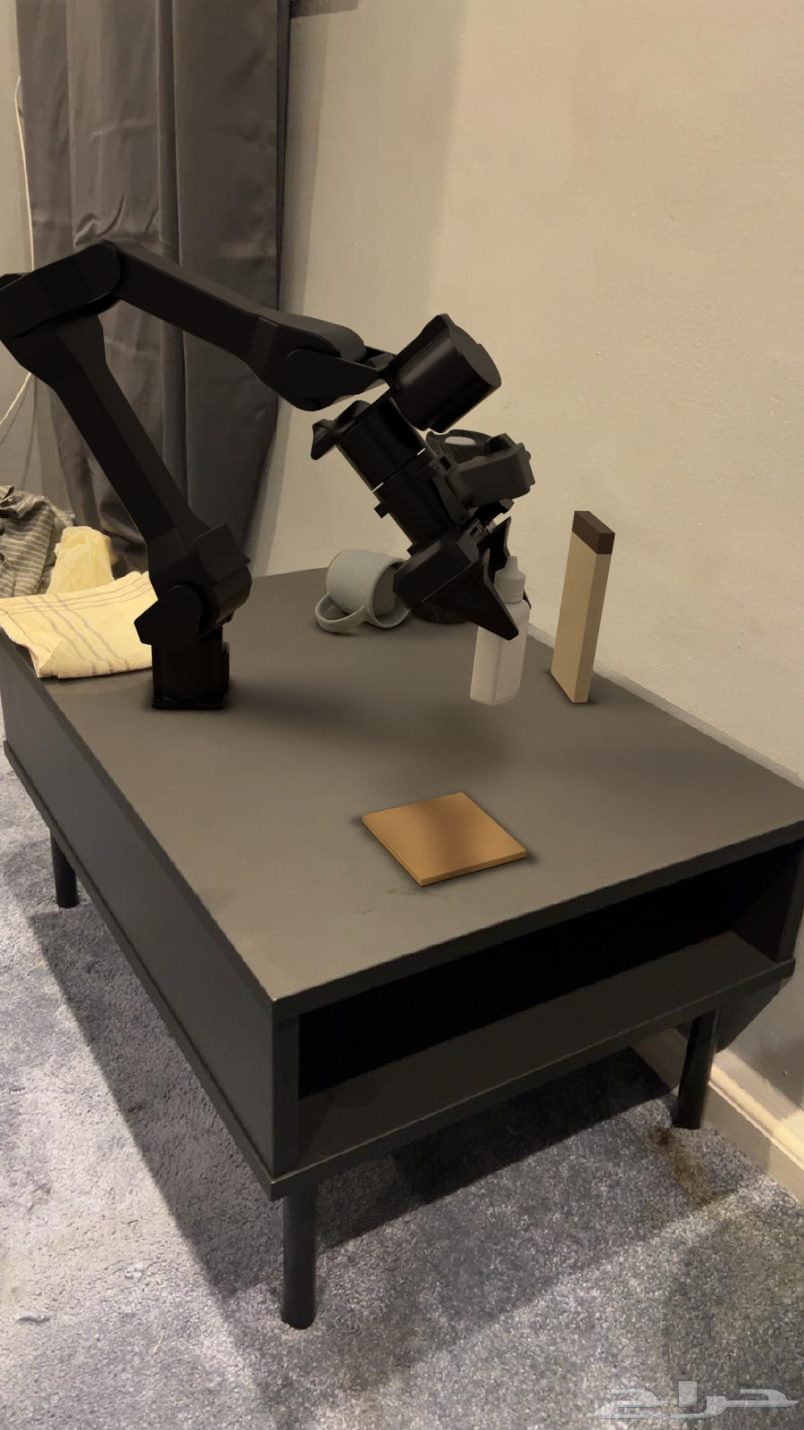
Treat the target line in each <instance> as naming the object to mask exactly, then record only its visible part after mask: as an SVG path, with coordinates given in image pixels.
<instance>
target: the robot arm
mask: <svg viewBox="0 0 804 1430" xmlns="http://www.w3.org/2000/svg"><path fill="white" fill-rule="evenodd" d="M121 302H124V303H127V304H129V305H131V306H133V307H134V308H137V309H139V310H141V311H143V312H145V313H147V314H149V315H151V316H153V317H155V318H157V319H158V320H160V321H163V322H165V323H167V324H169V325H171V326H172V327H175V328H177V329H179V330H181V331H183V332H185V333H187V334H189V335H192V336H193V337H195V338H197V339H199V340H201V341H203V342H205V343H207V344H209V345H210V346H213V347H214V348H217V349H219V350H222V351H223V352H225V353H227V354H230V355H231V356H232V357H234V358H236V359H237V360H239V361H240V362H242V363H243V364H244V365H245V366H247V368H248V369H249V370H250V371H251V373H252V374H253V375H254V376H255V377H256V378H257V380H258V381H259V382H260V384H262V385H263V386H265V387H266V388H267V389H269V390H270V391H272V392H273V393H275V394H276V395H277V396H279V397H280V398H281V399H282V400H284V401H285V402H287V403H288V404H289V405H291V406H293V407H294V408H296V409H297V410H301V411H304V412H309V413H310V412H313V413H315V412H318V411H322V410H324V409H327V408H329V407H331V406H334V405H337V404H338V403H341V402H343V401H346V400H348V399H351V398H353V397H355V396H359V395H362V394H364V393H366V392H368V391H371V390H373V389H376V388H378V387H380V386H383V385H387V386H388V389H387V390H386V391H384V392H383V393H382V394H381V395H380V396H379V397H378V398H376V399H375V400H374V401H373V402H372V403H370V402H368V401H366V400H363V399H356V400H354V401H353V402H352V403H351V404H350V405H349V406H347V407H346V408H344V410H343V411H341V413H340V414H338V415H337V416H336V417H335V418H334V419H326V418H321V419H319V420H318V421H316V422H314V423H312V425H311V429H312V441H311V442H312V443H311V449H310V454H309V456H310V458H311V460H313V461H318V460H319V459H322V458H323V457H324V456H326V455H328V454H329V453H331V452H333V451H334V450H335V449H337V450H338V451H339V452H340V454H341V455H342V456H343V458H344V459H345V460H346V461H347V463H348V464H349V465H350V466H351V468H352V469H353V470H354V471H355V473H356V474H357V476H359V478H360V479H361V480H362V482H363V483H364V484H365V485H366V487H367V489H369V490H370V492H372V494H373V496H374V497H375V498H376V500H377V501H378V502H379V503H378V504H377V505H376V506H374V507H373V510H374V511H375V513H376V514H377V515H378V517H379V518H380V519H383V518H384V517H386V516H387V515H389V516H390V517H391V518H392V520H393V521H394V522H395V524H396V525H397V527H399V529H400V530H401V531H402V533H403V534H404V535H405V536H406V538H407V539H408V540H409V542H410V543H411V544H410V545H409V547H408V548H406V549H405V550H406V552H407V553H408V554H409V555H410V557H409V558H408V559H405V560H406V561H405V562H404V563H403V565H402V566H401V567H400V568H399V569H398V570H397V571H396V572H395V573H394V577H393V590H392V591H393V592H394V593H395V595H396V596H397V597H398V598H399V600H400V601H401V602H402V603H403V605H404V606H405V607H406V608H407V610H409V609H410V610H413V607H414V606H416V605H417V604H418V603H420V602H421V601H422V602H423V603H424V604H426V605H429V604H432V605H434V606H437V607H439V608H441V609H444V610H446V611H448V612H450V613H453V614H455V615H457V616H459V617H462V618H464V619H466V620H467V622H470V623H472V624H474V625H476V626H478V627H479V626H480V627H482V628H484V629H486V630H488V631H490V632H492V633H494V634H496V635H498V636H500V637H502V638H504V639H505V640H508V641H510V640H512V639H514V638H515V637H517V636H518V634H519V630H518V628H517V626H516V624H515V622H514V620H513V618H512V616H511V615H510V613H509V611H508V609H507V608H506V606H505V604H504V603H503V601H502V599H501V597H500V596H499V594H498V592H497V591H496V589H495V587H494V580H495V573H496V571H498V570H500V569H503V568H504V567H505V565H506V562H507V559H508V557H509V556H512V555H511V553H510V550H509V548H508V540H509V533H510V528H511V524H512V516H511V515H509V516H508V517H506V518H505V519H503V520H502V521H501V522H499V523H498V524H497V523H496V521H494V519H496V518H497V517H498V516H500V515H505V514H507V513H509V512H510V511H511V509H512V508H513V507H514V505H515V502H514V500H515V499H519V498H521V497H524V496H525V495H528V494H529V493H530V492H531V487H532V486H534V485H535V484H536V479H535V475H534V473H533V469H532V466H531V463H530V461H531V460H532V459H531V458H532V454H531V452H530V451H528V450H526V447H525V444H524V443H523V441H521V442H519V443H516V442H515V441H514V440H513V439H512V438H511V437H510V436H509V434H507V433H506V432H504V433H499V434H497V435H494V436H492V437H491V438H489V439H488V440H487V441H486V442H485V444H484V451H483V456H481V457H479V456H477V457H475V458H474V459H472V460H470V461H467V462H464V463H461V464H457V463H456V462H455V460H454V459H453V458H452V456H451V455H450V454H448V453H447V454H445V453H444V452H442V453H440V454H439V455H438V456H437V455H436V454H435V453H434V452H433V450H432V449H431V448H430V446H429V447H427V446H428V444H427V442H426V441H425V440H426V439H425V438H424V437H423V436H422V434H421V433H420V432H426V431H427V430H428V429H429V430H430V431H433V432H434V433H436V434H446V433H447V431H449V429H451V428H452V427H453V426H455V425H456V424H457V423H458V422H460V421H461V420H462V419H463V418H464V417H466V416H467V415H468V414H469V413H470V412H472V411H473V410H474V409H476V407H478V406H479V405H481V403H482V402H483V401H485V400H486V399H488V398H489V397H490V396H492V394H494V393H495V392H496V391H498V390H499V389H500V388H501V387H502V385H503V383H502V377H501V374H500V371H499V369H498V367H497V365H496V363H495V362H494V359H493V358H492V357H491V355H490V354H489V352H488V351H487V350H486V348H485V347H484V346H483V343H480V342H479V343H478V342H477V341H476V340H475V339H474V338H473V337H472V336H471V334H469V333H468V332H467V331H466V330H465V329H463V328H462V327H461V326H458V325H457V324H456V323H455V322H454V321H453V319H452V318H451V317H450V315H449V313H446V312H443V313H440V314H436V315H435V316H434V317H433V318H432V319H430V320H429V321H428V322H427V323H426V324H425V325H424V326H423V328H422V330H421V331H420V333H419V334H418V335H416V336H415V338H414V339H412V340H411V341H410V342H409V343H408V344H406V346H404V347H403V348H402V349H401V350H400V351H399V352H398V353H393V352H390V351H386V350H384V349H380V348H376V347H373V346H370V345H366V344H365V340H363V339H362V337H361V336H360V335H359V334H358V333H357V332H355V331H354V329H351V328H350V327H348V326H344V325H341V324H337V323H335V322H332V321H327V320H323V319H319V318H316V317H311V316H308V315H302V314H296V313H290V312H286V311H280V310H277V309H273V308H270V307H266V306H264V305H262V304H261V303H260V304H259V303H257V302H256V301H254V300H251V298H247V297H246V296H243V295H241V294H239V293H237V292H235V291H233V290H231V289H229V288H227V287H226V286H222V285H221V284H219V283H217V282H215V281H213V280H211V279H209V278H207V277H205V276H202V275H201V274H198V273H197V272H194V271H192V270H190V269H188V268H186V267H184V266H182V265H180V264H179V263H176V262H174V261H172V260H170V259H168V258H166V257H164V256H162V255H160V254H158V253H155V252H153V251H151V250H149V249H148V248H147V247H146V246H144V245H143V244H142V243H141V242H140V241H138V240H136V239H134V238H130V237H122V238H121V237H120V238H117V237H115V238H100V239H95V240H94V241H92V242H91V243H89V245H87V246H85V247H84V248H82V249H79V250H77V252H74V253H72V254H71V255H68V256H65V257H62V258H60V259H58V260H55V261H53V262H50V263H48V264H45V265H43V266H41V267H38V268H35V269H34V270H31V271H25V272H9V273H3V274H2V275H0V343H1V344H2V345H3V347H4V348H5V349H6V350H7V351H8V352H9V354H10V355H11V356H12V358H13V359H14V360H15V361H16V362H17V364H18V365H20V367H22V369H25V371H27V372H28V373H30V374H31V375H33V376H34V377H36V378H37V379H38V380H39V381H40V382H42V383H43V384H44V385H46V386H47V387H49V388H50V389H51V390H52V391H53V392H54V394H56V396H57V397H58V399H59V401H60V403H61V405H62V406H63V408H64V409H65V411H66V413H67V415H68V416H69V418H70V419H71V422H72V423H73V425H74V426H75V428H76V429H77V431H78V433H79V435H80V436H81V438H82V439H83V441H84V443H85V444H86V446H87V448H88V449H89V451H90V453H91V455H92V456H93V459H94V460H95V461H96V463H97V465H98V467H99V468H100V470H101V471H102V473H103V474H104V477H106V480H107V482H108V483H109V484H110V486H111V488H112V489H113V491H114V492H115V495H116V496H117V498H118V500H119V501H120V503H121V505H122V507H123V508H124V509H125V511H126V513H127V514H128V516H129V518H130V519H131V521H132V523H133V524H134V526H135V527H136V529H137V531H138V533H139V535H140V536H141V539H142V540H143V543H144V544H145V550H146V551H145V553H146V563H147V573H148V580H149V582H150V585H151V587H152V589H153V592H154V594H155V597H156V601H154V602H153V603H152V604H151V605H150V606H149V607H147V609H145V610H144V611H143V612H142V613H141V614H140V615H138V617H136V618H135V619H134V620H133V625H134V628H135V631H136V634H137V637H138V639H139V641H140V643H141V644H143V645H146V646H147V645H148V646H150V653H151V680H152V690H151V695H150V701H149V703H150V707H151V708H154V709H157V708H158V709H161V708H162V709H221V708H224V707H225V706H224V705H225V695H228V694H229V693H230V687H231V686H230V684H231V655H230V654H231V650H230V648H231V644H230V643H229V642H228V641H224V625H225V624H228V623H230V622H232V620H233V618H234V616H235V613H236V611H237V610H238V609H239V608H241V607H242V606H243V605H245V604H246V602H247V600H248V599H249V596H250V594H251V588H252V585H253V578H252V574H251V571H250V569H249V566H248V564H250V563H251V562H252V560H251V558H250V557H248V555H246V554H245V553H244V551H242V549H241V548H240V546H239V544H238V542H237V539H236V537H235V535H234V532H233V530H232V528H231V527H230V526H229V524H228V523H226V522H223V523H221V524H219V525H217V526H215V527H211V526H210V525H208V524H207V523H206V522H205V521H203V520H201V518H199V517H198V516H197V515H196V514H195V513H194V512H193V510H192V508H191V507H190V505H189V503H188V502H187V499H186V498H185V496H184V494H183V493H182V491H181V490H180V488H179V486H178V484H177V483H176V481H175V479H174V477H173V475H172V474H171V472H170V471H169V468H168V467H167V465H166V464H165V461H164V460H163V458H162V457H161V455H160V454H159V451H158V450H157V448H156V446H155V445H154V443H153V441H152V440H151V438H150V436H149V435H148V433H147V432H146V430H145V427H144V426H143V425H142V422H141V420H140V419H139V417H138V416H137V414H136V413H135V410H134V409H133V407H132V405H131V404H130V402H129V400H128V399H127V397H126V396H125V393H124V392H123V390H122V388H121V387H120V385H119V384H118V381H117V380H116V378H115V376H114V375H113V373H112V372H111V370H110V367H109V365H108V362H107V355H106V346H105V337H104V336H105V334H104V333H105V331H104V327H103V325H102V322H101V320H100V317H99V316H100V315H102V314H104V313H106V312H107V311H109V310H112V309H113V308H114V307H116V306H117V305H118V304H119V303H121ZM419 431H420V432H419ZM425 447H427V448H426V449H425ZM523 600H525V601H526V602H527V603H528V604H529V607H530V611H531V609H532V604H531V602H530V600H529V597H528V595H527V593H526V590H525V589H524V592H523Z"/></svg>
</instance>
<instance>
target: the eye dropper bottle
mask: <svg viewBox="0 0 804 1430" xmlns="http://www.w3.org/2000/svg"><path fill="white" fill-rule="evenodd" d="M518 564H519V563H518V557H517V556H516V555H511V556H509V557H508V559H507V562H506V565H505V567H504V568H503V569H500V570H498V571H496V573H495V580H494V587H495V589H496V591H497V592H498V594H499V596H500V597H501V599H502V601H503V603H504V604H505V606H506V608H507V609H508V611H509V613H510V615H511V616H512V618H513V620H514V622H515V624H516V626H517V628H518V630H519V634H518V636H517V637H515V638H514V639H512V640H510V641H508V640H505V639H504V638H502V637H500V636H498V635H496V634H494V633H492V632H490V631H488V630H486V629H484V628H482V627H480V626H478V628H477V635H476V641H475V642H476V643H475V651H474V660H473V667H472V668H473V670H472V675H471V676H472V677H471V684H470V692H469V694H470V695H469V696H470V699H471V700H472V701H473V702H476V703H479V704H482V705H486V706H489V707H496V706H501V705H503V704H506V703H508V702H510V701H511V700H512V699H514V698H515V697H516V695H517V694H518V692H519V690H520V687H521V681H522V673H523V668H524V667H523V666H524V660H525V652H526V645H527V638H528V631H529V623H530V616H531V610H530V607H529V604H528V603H527V602H526V601H525V600H523V592H524V590H525V586H526V574H525V573H524V572H523V571H521V570H519V566H518Z"/></svg>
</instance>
